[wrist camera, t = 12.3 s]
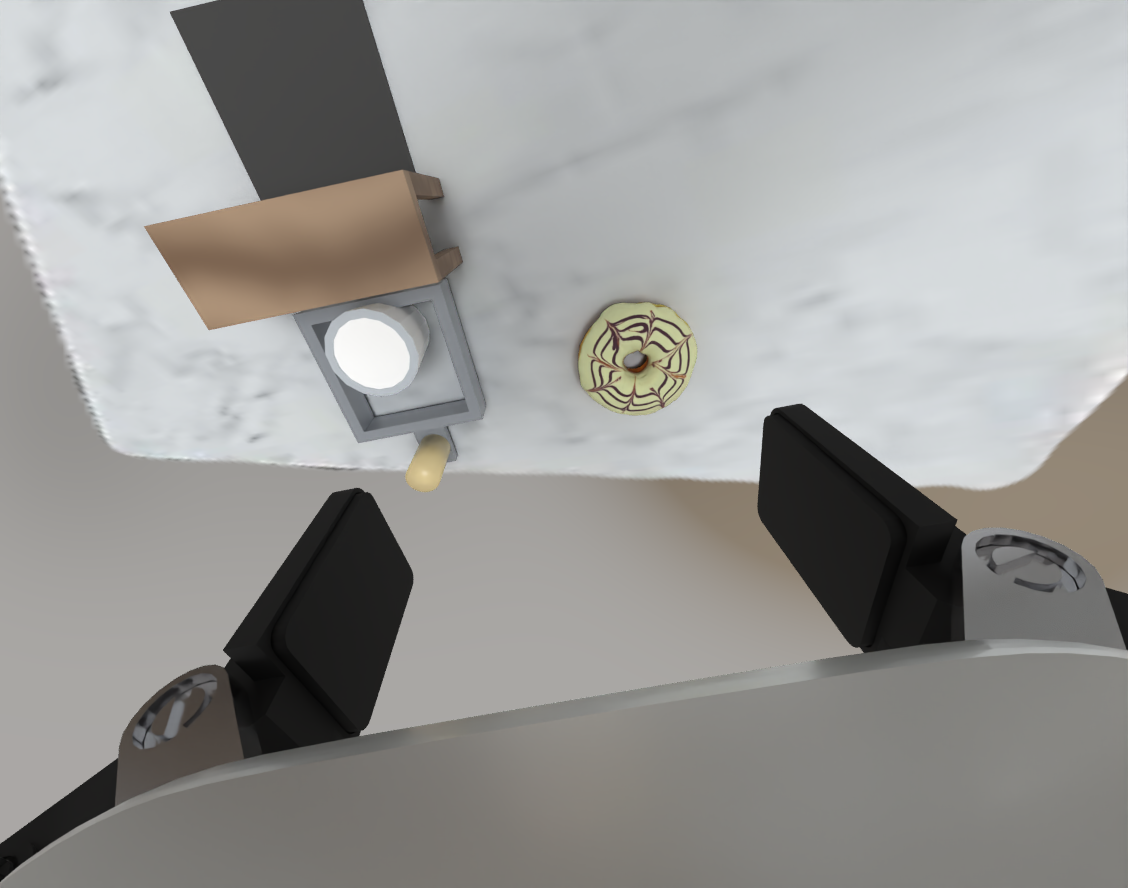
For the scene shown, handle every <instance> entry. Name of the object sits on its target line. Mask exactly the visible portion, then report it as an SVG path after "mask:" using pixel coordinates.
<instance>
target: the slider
mask: <svg viewBox="0 0 1128 888" xmlns="http://www.w3.org/2000/svg"><path fill="white" fill-rule="evenodd" d="M430 300H432V302H433V305H434V308H435V311H436V314H437V317H438V320H439V323H440V326H441V329H442V332H443V335H444V338H445V341H446V344H447V347H448V350H449V353H450V356H451V359H452V362H453V365H454V368H455V371H456V374H457V377H458V380H459V383H460V386H461V389H462V392H463V395H464V398H465V400H461V401H456V402H451V403H446V404H441V405H436V406H430V407H425V408H420V409H415V410H410V411H405V412H400V413H395V414H390V415H385V416H380V417H374V415H373V413H372V411H371V409H370V407H369V404H368V402H367V400H366V398H365V396H364V394H363V393H361V392H359V391H357V390H356V389H354V388H352V387H350V386H348V385H346V384H345V383H344V382H343V381H342V380H341V379H340V377H339V376H338V375H337V374H336V373H335V372H334V371H333V369H332V367H331V365H330V363H329V361H328V359H327V357H326V355H325V339H324V337H325V335H326V333H327V330H328V328H329V326H330V322H329V321H333V320H335V319H336V318H337V317H339V316H340V315H341V314H342V313H344V312H346V311H349V310H352V309H355V308H358V307H362V306H366V305H371V304H376V303H381V304H385V305H390V306H395V307H401V306H406V305H411V304H416V303H421V302H425V301H430ZM293 317H294V319H295V321H296V323H297V325H298V327H299V329H300V331H301V333H302V334H303V336H304V338H305V340H306V342H307V344H308V346H309V348H310V350H311V352H312V354H313V356H314V358H315V360H316V362H317V364H318V366H319V368H320V370H321V372H322V374H323V375H324V377H325V379H326V381H327V383H328V385H329V387H330V389H331V391H332V393H333V395H334V397H335V399H336V401H337V403H338V405H339V407H340V409H341V411H342V413H343V414H344V416H345V418H346V420H347V422H348V424H349V426H350V428H351V430H352V432H353V434H354V436H355V438H356V440H357V442H358V443H362V442H367V441H372V440H377V439H382V438H387V437H393V436H398V435H403V434H408V433H413V432H414V435H415V437H416V439H417V442H418V444H419V447H418V449H417V451H416V453H415V455H414V457H413V459H412V461H411V464H410V466H409V468H408V470H407V472H406V481H407V483H408V484H409V486H410V487H412V488H413V489H415V490H417V491H420V492H429V491H432V490H434V489H435V488H437V487H438V485H439V483H440V480H441V477H442V474H443V471H444V468H445V465H446V463H447V462H452V461H456V459H457V453H456V450H455V448H454V445H453V442H452V440H451V437H450V434H449V432H448V429H447V426H449V425H454V424H459V423H465V422H470V421H475V420H480V419H483V416H484V412H485V407H486V404H485V400H484V397H483V394H482V391H481V387H480V384H479V381H478V378H477V375H476V371H475V368H474V365H473V362H472V358H471V355H470V352H469V349H468V345H467V342H466V339H465V336H464V333H463V329H462V326H461V323H460V320H459V316H458V313H457V310H456V307H455V303H454V300H453V297H452V294H451V291H450V287H449V284H448V281H447V278H446V279H442V280H441V281H440V282H438V283H433V284H428V285H423V286H419V287H414V288H409V289H404V290H399V291H395V292H390V293H385V294H380V295H375V296H371V297H366V298H361V299H356V300H351V301H347V302H342V303H337V304H332V305H327V306H323V307H318V308H313V309H308V310H303V311H300V312H298V313H296V314H294V315H293Z"/></svg>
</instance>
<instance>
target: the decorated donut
mask: <svg viewBox="0 0 1128 888" xmlns="http://www.w3.org/2000/svg"><path fill="white" fill-rule="evenodd" d="M635 351H639V352H641V353H643V354H646V355H647V360H646V362H645V363H644V364H643V365H642V366H641V367H638V368H637V369H636V368H635V369H631V368H629V369H628V368H626V366H625V365H624V362H623V361H624V358H625V357H626V356H627V355H628V354H631V353H634V352H635ZM696 359H697V344H696V341H695V338H694V336H693V333H692V331H691V330H690V327H689V326H688V324H687V323H686V322H685V321H684V320H683V319H681V318H680V317H679V316H678V315H677V314H676V312H675V311H673V310H672V309H671V308H669V307H667V306H664V305H660V304H658V305H656V304H652V303H650V302H644V303H618V304H613V305H611V306H610V307H608V308H607V309H606V310H605V311H604V312H603V313H602V314H601V315H600V317H599V319H598V320H597V321H596V322H595V323H594V324H593V325H592V326H591V328H590V329H589V330H588V331H587V333H586V335H585V336H584V338H583V340H582V342H581V344H580V349H579V354H578V369H579V374H580V381H581V386H582V387H583V389H584V390H585V391H586V392H587V393H588V394H589V396H590V397H591V398H592V399H593V400H595V401H596V402H597V403H599V404H601V405H602V406H603V407H605V408H607V409H609V410H610V411H614V412H616V413H620V414H627V415H647V414H651V413H654V412H656V411H658V410H660V409H662V408H664V407H666V406H668V405H669V404H671V403H672V402H673V401H675V400H676V399H677V398H678V397H679V396H680V395H681V393H682V392H683V391H684V389H685V388H686V387H687V385H688V383H689V380H690V377H691V374H692V371H693V368H694V365H695V363H696Z"/></svg>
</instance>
